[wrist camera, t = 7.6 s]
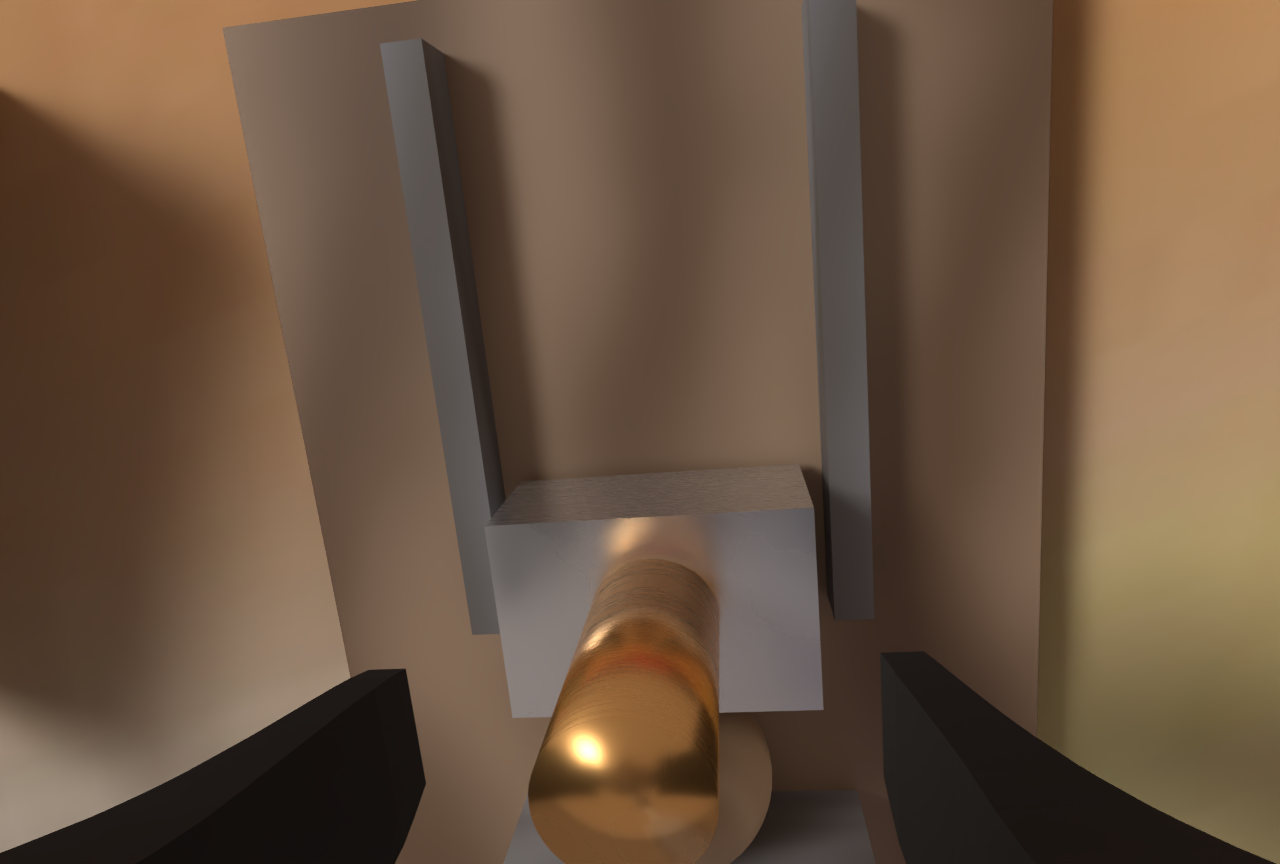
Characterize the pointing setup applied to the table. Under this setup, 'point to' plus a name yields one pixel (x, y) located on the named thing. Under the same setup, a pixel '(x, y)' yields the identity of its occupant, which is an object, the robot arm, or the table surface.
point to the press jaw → (651, 643)
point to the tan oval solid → (739, 787)
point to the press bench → (666, 337)
